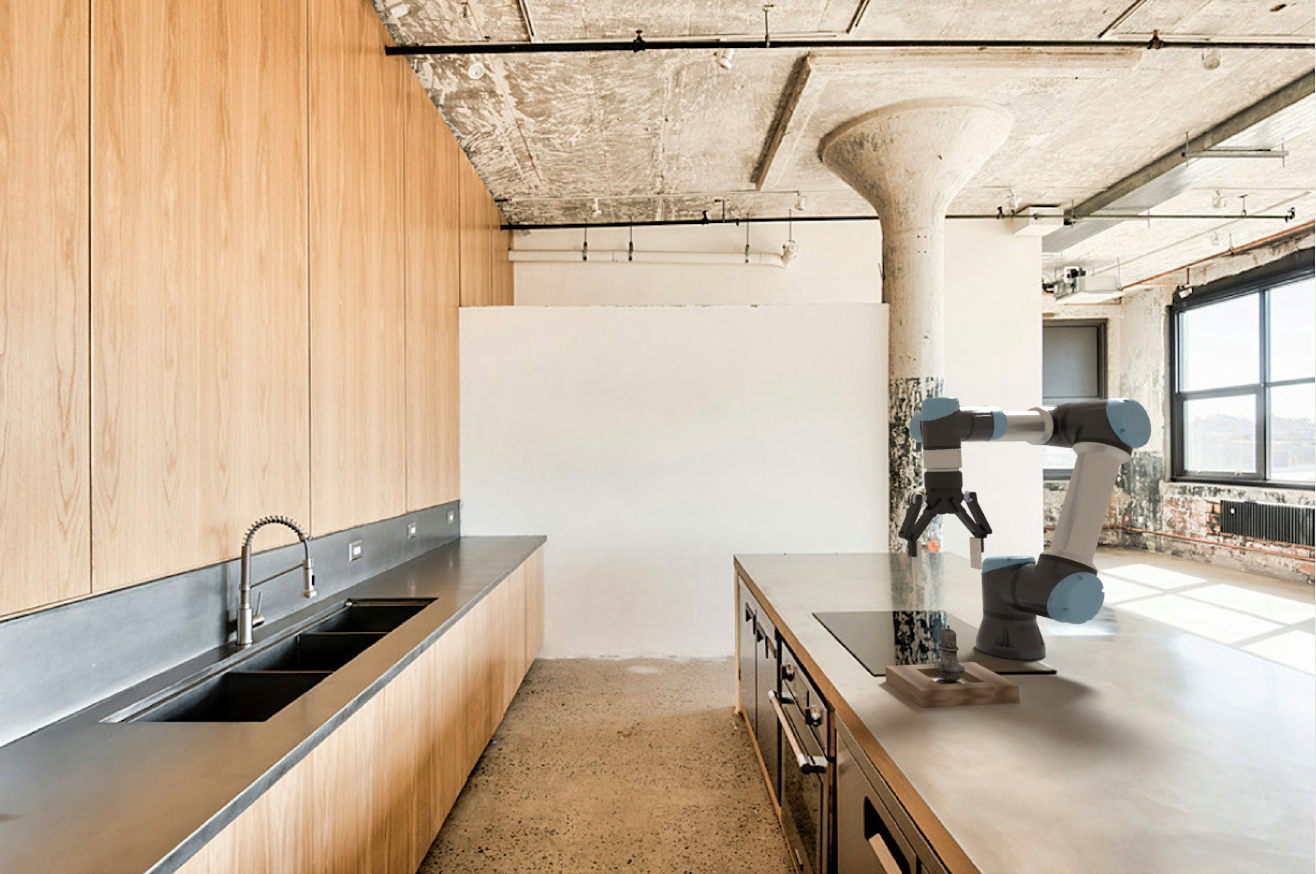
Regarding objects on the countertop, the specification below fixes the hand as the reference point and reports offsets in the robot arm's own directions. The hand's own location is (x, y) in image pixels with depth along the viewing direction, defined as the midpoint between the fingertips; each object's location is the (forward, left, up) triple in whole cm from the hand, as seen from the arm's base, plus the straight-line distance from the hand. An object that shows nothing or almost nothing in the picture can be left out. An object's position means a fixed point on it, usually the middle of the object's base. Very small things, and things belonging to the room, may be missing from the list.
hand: (947, 570), depth 140 cm
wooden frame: (+3, +4, -24) cm, 24 cm away
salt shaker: (+2, +4, -22) cm, 23 cm away
